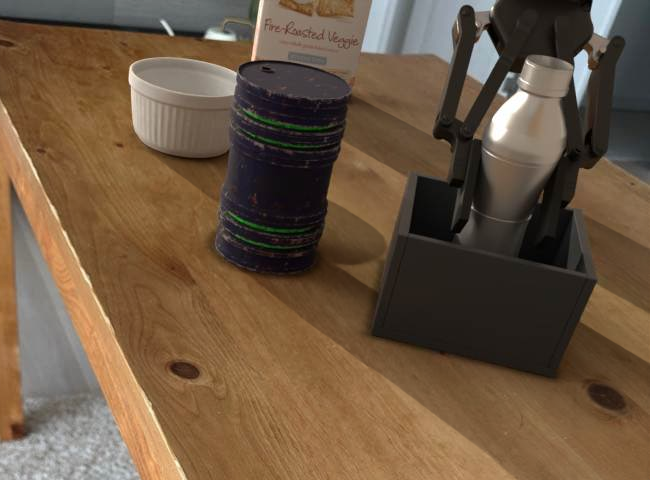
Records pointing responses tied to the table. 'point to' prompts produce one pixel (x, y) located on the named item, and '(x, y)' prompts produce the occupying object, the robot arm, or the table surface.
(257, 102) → the storage jar
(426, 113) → the table surface
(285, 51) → the cracker box
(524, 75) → the silver metal bottle
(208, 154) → the ramekin
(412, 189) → the bin
